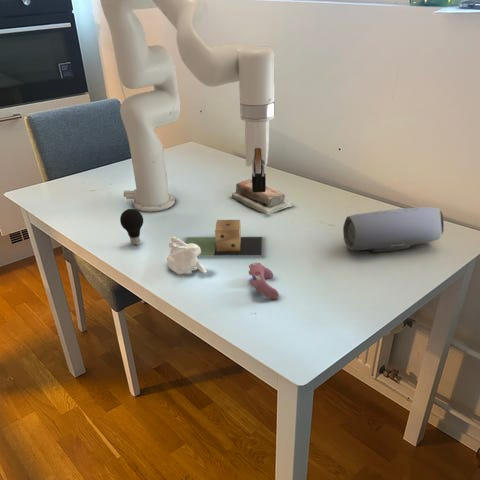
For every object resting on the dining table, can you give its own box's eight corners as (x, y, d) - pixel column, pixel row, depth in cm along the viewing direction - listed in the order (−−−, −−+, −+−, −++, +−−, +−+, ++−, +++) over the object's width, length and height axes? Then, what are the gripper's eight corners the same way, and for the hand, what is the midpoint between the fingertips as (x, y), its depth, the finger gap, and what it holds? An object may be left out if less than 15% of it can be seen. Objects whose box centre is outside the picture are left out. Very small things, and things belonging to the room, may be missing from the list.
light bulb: (128, 252, 130) (122, 216, 124) (122, 242, 134) (115, 208, 128) (150, 246, 132) (144, 211, 126) (143, 237, 136) (137, 203, 131)
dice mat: (182, 257, 127) (182, 255, 127) (187, 239, 135) (187, 237, 135) (261, 256, 126) (261, 255, 125) (261, 238, 134) (261, 236, 134)
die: (216, 251, 128) (215, 230, 124) (218, 240, 133) (217, 219, 129) (240, 251, 127) (239, 229, 124) (241, 240, 132) (240, 219, 129)
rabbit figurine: (212, 273, 120) (209, 237, 114) (189, 287, 115) (185, 249, 110) (177, 258, 126) (173, 223, 121) (155, 270, 122) (149, 234, 116)
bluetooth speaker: (422, 234, 133) (430, 198, 127) (440, 251, 125) (448, 213, 119) (340, 243, 130) (344, 207, 124) (353, 261, 123) (357, 223, 117)
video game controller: (257, 283, 119) (243, 261, 115) (274, 274, 118) (260, 252, 114) (262, 307, 111) (247, 284, 107) (280, 298, 110) (266, 274, 106)
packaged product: (229, 183, 154) (255, 175, 159) (230, 198, 157) (255, 190, 161) (266, 200, 142) (293, 191, 147) (266, 216, 145) (292, 207, 150)
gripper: (241, 103, 116) (244, 180, 127) (238, 120, 104) (242, 203, 115) (274, 102, 116) (274, 179, 126) (274, 118, 104) (275, 202, 114)
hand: (259, 190), depth 121 cm, fingers closed
